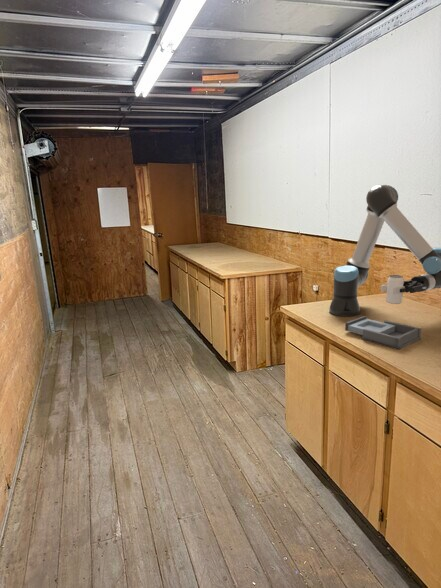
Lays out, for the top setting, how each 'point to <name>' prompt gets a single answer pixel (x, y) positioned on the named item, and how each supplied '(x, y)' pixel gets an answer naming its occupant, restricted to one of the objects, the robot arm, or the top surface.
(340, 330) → the top surface
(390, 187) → the robot arm
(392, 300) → the can
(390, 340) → the tray
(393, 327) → the tray
